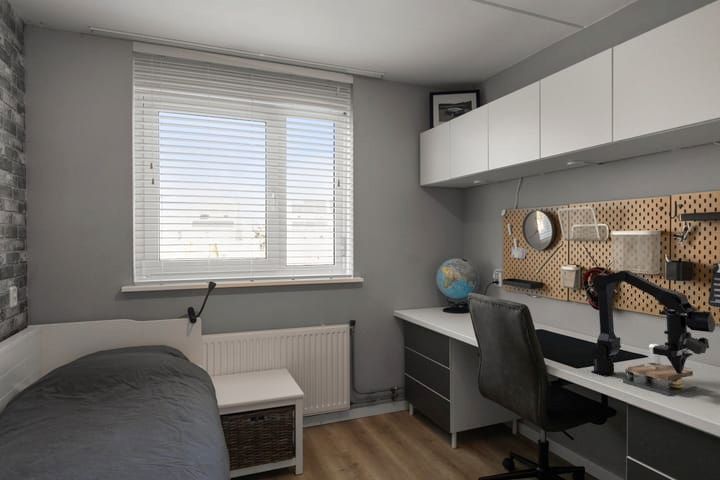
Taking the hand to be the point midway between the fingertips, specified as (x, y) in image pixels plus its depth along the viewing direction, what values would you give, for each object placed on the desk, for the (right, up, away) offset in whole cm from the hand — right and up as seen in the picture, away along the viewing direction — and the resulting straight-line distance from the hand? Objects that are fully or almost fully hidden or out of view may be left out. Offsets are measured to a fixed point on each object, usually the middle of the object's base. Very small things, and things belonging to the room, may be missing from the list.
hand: (679, 373), depth 151 cm
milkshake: (+14, -7, +32) cm, 36 cm away
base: (-3, -7, +6) cm, 10 cm away
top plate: (-3, -3, +7) cm, 8 cm away
